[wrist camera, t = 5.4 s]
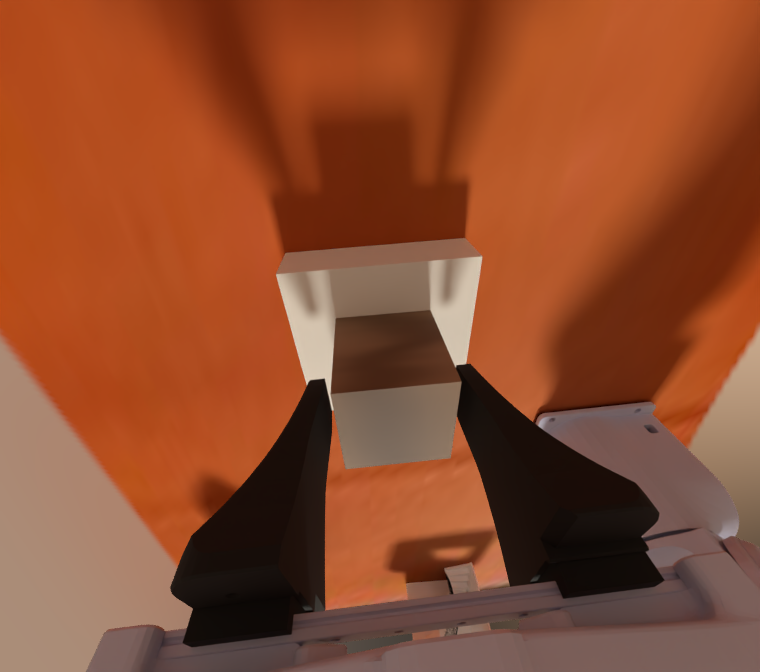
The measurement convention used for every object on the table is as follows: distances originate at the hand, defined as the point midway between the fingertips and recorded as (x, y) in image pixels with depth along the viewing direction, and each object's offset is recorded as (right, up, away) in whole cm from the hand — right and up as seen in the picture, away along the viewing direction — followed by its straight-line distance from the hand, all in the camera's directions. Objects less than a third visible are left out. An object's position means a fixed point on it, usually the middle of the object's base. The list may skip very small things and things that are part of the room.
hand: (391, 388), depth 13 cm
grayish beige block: (0, +1, +3) cm, 3 cm away
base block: (-1, +4, +5) cm, 6 cm away
